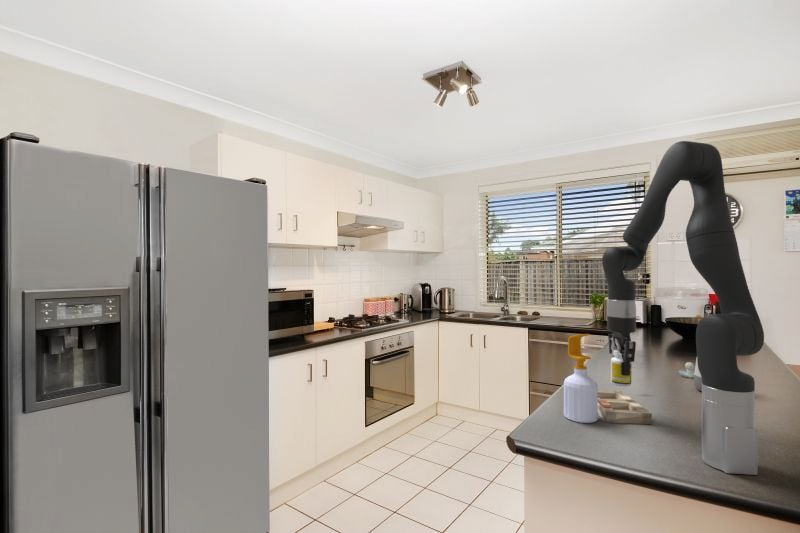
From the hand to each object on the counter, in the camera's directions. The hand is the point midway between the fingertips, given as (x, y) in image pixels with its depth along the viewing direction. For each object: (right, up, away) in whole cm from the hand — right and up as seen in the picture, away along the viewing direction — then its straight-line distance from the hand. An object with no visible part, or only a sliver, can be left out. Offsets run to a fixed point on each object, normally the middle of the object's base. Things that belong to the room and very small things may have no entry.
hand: (621, 372), depth 122 cm
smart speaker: (+44, -13, +24) cm, 52 cm away
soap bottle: (-12, -13, -1) cm, 18 cm away
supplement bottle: (0, -4, 0) cm, 4 cm away
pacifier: (+51, -14, +44) cm, 69 cm away
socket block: (+1, -13, +5) cm, 14 cm away
